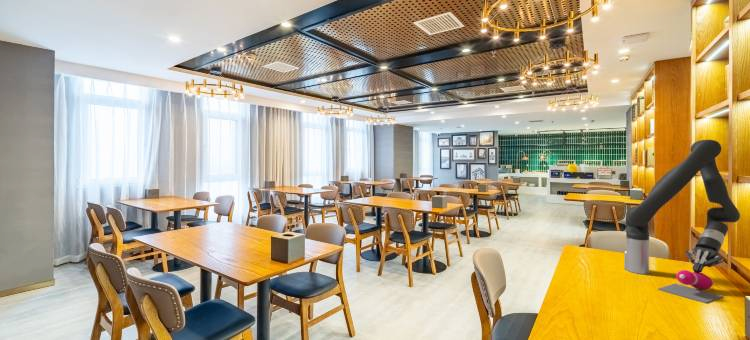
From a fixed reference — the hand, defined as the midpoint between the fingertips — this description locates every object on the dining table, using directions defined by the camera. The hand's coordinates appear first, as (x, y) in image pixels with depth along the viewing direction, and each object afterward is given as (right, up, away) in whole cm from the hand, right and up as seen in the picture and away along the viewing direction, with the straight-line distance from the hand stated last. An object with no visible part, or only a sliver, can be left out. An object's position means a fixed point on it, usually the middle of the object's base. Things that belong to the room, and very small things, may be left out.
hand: (696, 271), depth 143 cm
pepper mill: (+6, -5, +3) cm, 9 cm away
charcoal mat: (-5, -8, -3) cm, 10 cm away
